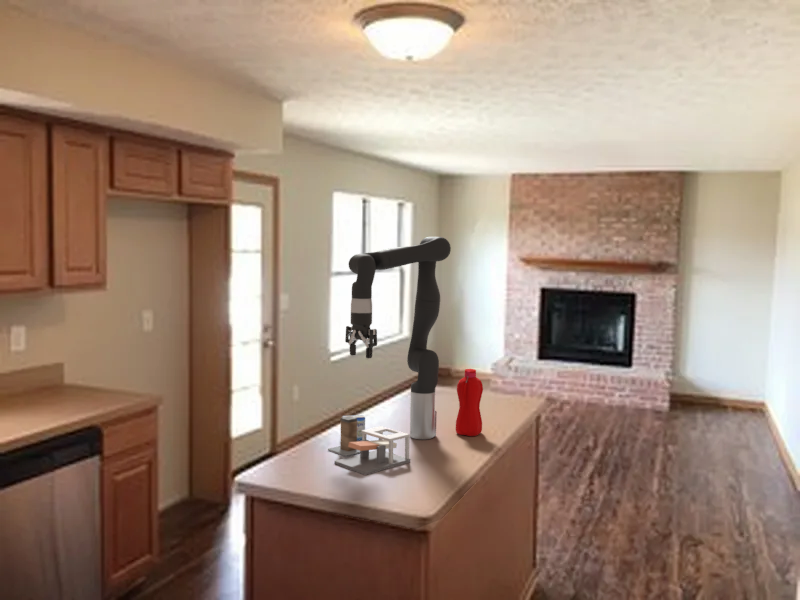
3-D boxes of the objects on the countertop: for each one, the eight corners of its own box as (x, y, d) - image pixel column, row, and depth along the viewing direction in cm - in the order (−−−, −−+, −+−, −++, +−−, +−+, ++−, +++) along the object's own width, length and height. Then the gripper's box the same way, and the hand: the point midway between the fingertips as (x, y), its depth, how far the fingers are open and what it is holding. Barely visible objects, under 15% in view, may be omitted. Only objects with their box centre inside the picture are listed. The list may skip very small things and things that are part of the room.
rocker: (383, 444, 242) (384, 439, 242) (396, 447, 238) (396, 443, 238) (348, 446, 231) (348, 442, 231) (360, 450, 227) (361, 446, 227)
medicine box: (343, 441, 260) (344, 418, 260) (341, 438, 264) (341, 415, 264) (365, 440, 262) (365, 417, 262) (362, 437, 267) (362, 414, 266)
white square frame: (379, 452, 247) (379, 425, 247) (410, 462, 237) (410, 434, 236) (334, 463, 233) (334, 435, 233) (365, 474, 223) (365, 445, 222)
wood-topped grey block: (349, 446, 251) (349, 416, 251) (356, 449, 249) (357, 418, 248) (340, 449, 249) (340, 417, 248) (347, 451, 246) (348, 420, 245)
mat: (349, 445, 256) (349, 443, 256) (368, 451, 249) (368, 449, 248) (327, 450, 249) (327, 448, 249) (346, 456, 242) (346, 455, 242)
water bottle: (451, 435, 271) (452, 370, 269) (462, 429, 281) (463, 366, 279) (473, 439, 267) (475, 372, 265) (484, 432, 276) (486, 368, 274)
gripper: (383, 312, 249) (382, 358, 250) (356, 309, 259) (355, 353, 260) (366, 313, 244) (366, 360, 245) (340, 310, 254) (339, 355, 255)
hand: (360, 356), depth 252 cm, fingers open, 8 cm apart
